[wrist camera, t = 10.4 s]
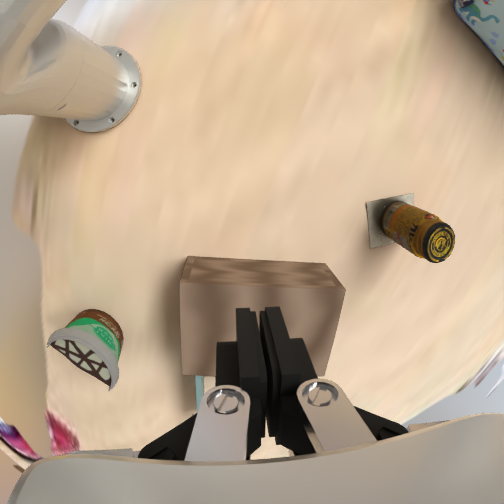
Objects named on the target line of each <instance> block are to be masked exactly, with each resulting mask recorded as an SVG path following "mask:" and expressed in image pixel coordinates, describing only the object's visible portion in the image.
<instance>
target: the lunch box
mask: <svg viewBox="0 0 504 504" xmlns="http://www.w3.org/2000/svg"><path fill="white" fill-rule="evenodd" d="M454 8H455V11H456V13H457V15H458V16H459V17H460V18H461V19H462V20H463V21H464V22H465V23H466V24H467V25H468V26H469V27H470V28H471V29H472V30H473V31H474V32H475V33H476V34H477V36H478V37H479V38H480V39H481V40H482V41H483V42H484V44H485V45H486V46H487V47H488V48H489V49H490V50H491V52H492V53H493V54H494V55H495V56H496V57H497V58H498V59H499V61H500V62H501V63H502V65H503V66H504V0H455V2H454Z"/></svg>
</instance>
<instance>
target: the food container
mask: <svg viewBox="0 0 504 504" xmlns="http://www.w3.org/2000/svg"><path fill="white" fill-rule="evenodd" d="M123 339H124V338H123V333H122V330H121V328H120V326H119V324H118V323H117V322H116V321H115V319H114V318H112V317H111V316H110V315H108V314H107V313H105V312H103V311H100V310H96V309H88V310H84V311H82V312H81V313H79V314H78V315H77V316H76V317H75V318H74V319H73V320H72V321H71V322H70V323H69V324H68V325H67V326H66V327H65V328H62V329H59V330H57V331H55V332H54V333H53V334H52V335H51V336H50V338H49V340H48V342H47V345H48V346H49V345H51V346H52V347H53V348H55V349H56V350H58V351H59V352H61V353H62V354H63V355H64V356H66V357H67V358H68V359H69V360H70V361H71V362H72V363H73V364H75V365H76V366H77V367H78V368H80V369H81V370H83V371H85V372H87V373H89V374H91V375H92V376H94V377H96V378H97V379H99V380H101V381H102V382H104V383H105V384H107V385H108V386H110V387H109V391H110V389H111V390H112V388H113V387H114V386H115V384H116V383H117V381H118V378H119V368H118V360H119V356H120V353H121V349H122V345H123ZM48 346H47V347H48Z"/></svg>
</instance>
